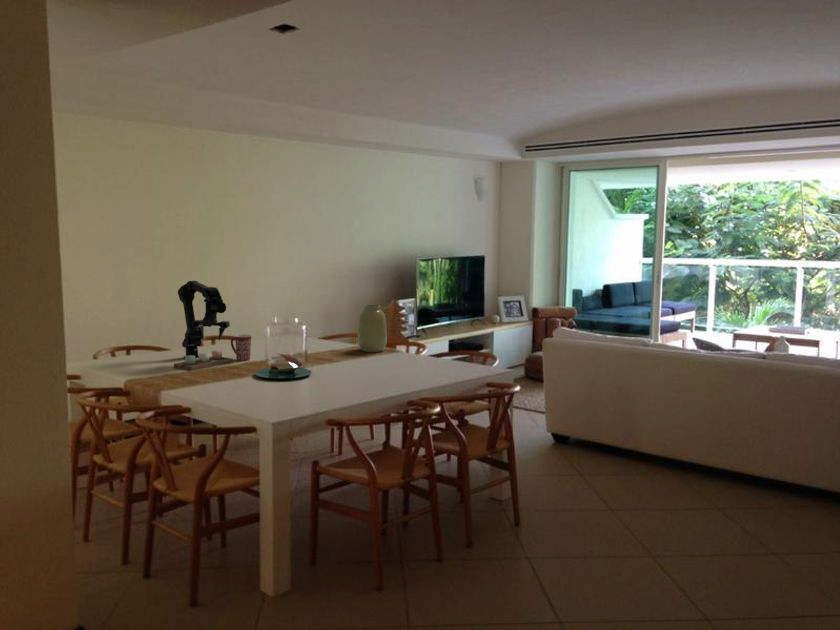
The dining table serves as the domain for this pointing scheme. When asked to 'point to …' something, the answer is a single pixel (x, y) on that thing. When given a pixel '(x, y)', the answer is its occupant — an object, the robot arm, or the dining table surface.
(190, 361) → the button sage
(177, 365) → the button board
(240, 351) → the mug
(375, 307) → the vase
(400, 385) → the dining table surface
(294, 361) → the dark teal dish
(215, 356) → the button terracotta
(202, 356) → the button cream
